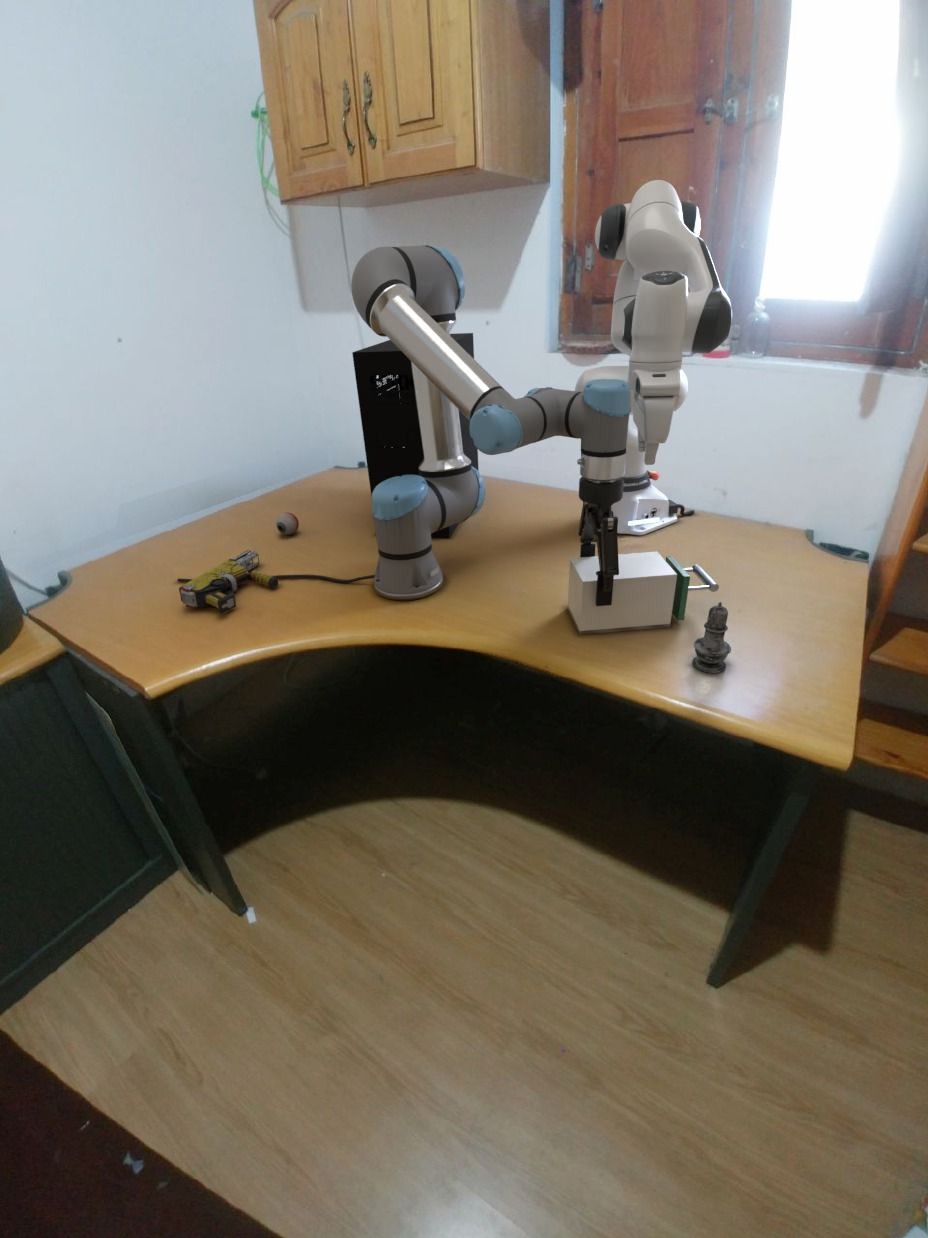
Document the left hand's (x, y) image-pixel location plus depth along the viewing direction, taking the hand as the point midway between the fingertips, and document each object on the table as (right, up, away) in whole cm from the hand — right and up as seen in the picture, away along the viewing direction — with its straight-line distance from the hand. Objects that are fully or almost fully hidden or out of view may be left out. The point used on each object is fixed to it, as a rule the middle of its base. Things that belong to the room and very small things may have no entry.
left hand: (594, 589), depth 114 cm
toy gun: (-75, +1, +23) cm, 78 cm away
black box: (-34, +25, +61) cm, 74 cm away
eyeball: (-73, +17, +51) cm, 90 cm away
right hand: (+9, +25, -2) cm, 26 cm away
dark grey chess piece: (+17, -13, -12) cm, 25 cm away
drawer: (+11, -4, +3) cm, 12 cm away
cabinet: (+5, -5, +4) cm, 8 cm away
